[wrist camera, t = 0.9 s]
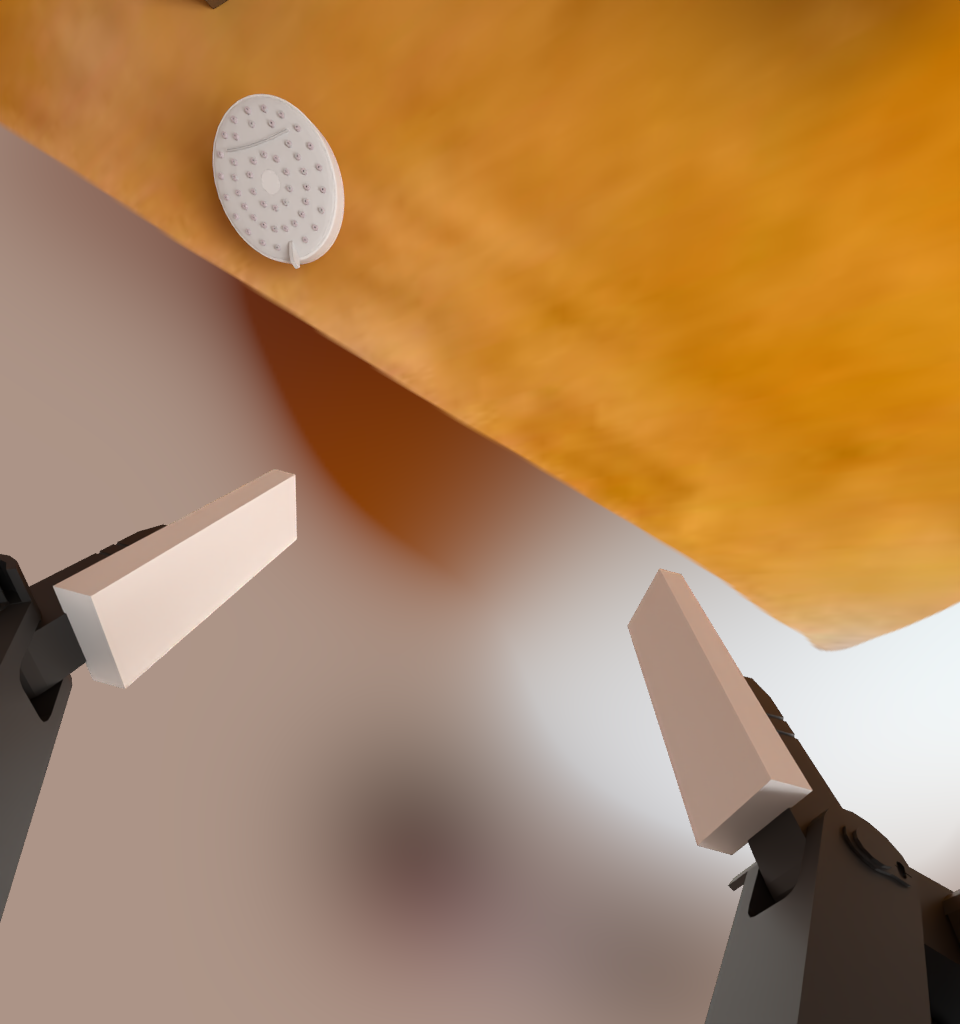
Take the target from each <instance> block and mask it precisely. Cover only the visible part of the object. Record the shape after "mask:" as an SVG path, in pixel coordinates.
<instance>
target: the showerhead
mask: <svg viewBox="0 0 960 1024" xmlns="http://www.w3.org/2000/svg"><path fill="white" fill-rule="evenodd" d="M213 172H214V180H215V185H216V189H217V192H218V196H219V199H220V202H221V204H222V206H223V209H224V211H225V213H226V215H227V217H228V219H229V220H230V222H231V224H232V225H233V227H234V228H235V230H236V231H237V232H238V234H239V235H240V236H241V237H242V238H243V239H244V241H245V242H246V243H247V244H249V245H250V246H251V247H252V248H253V249H254V250H256V251H257V252H259V253H260V254H262V255H264V256H266V257H268V258H270V259H272V260H276V261H279V262H284V263H289V264H292V265H293V266H294V267H295V269H297V268H300V264H306V263H310V262H313V261H315V260H317V259H318V258H320V257H321V256H323V255H324V254H325V253H326V252H327V251H328V250H329V249H330V247H331V246H332V245H333V243H334V241H335V240H336V238H337V236H338V233H339V231H340V228H341V224H342V220H343V213H344V189H343V182H342V178H341V173H340V170H339V166H338V164H337V161H336V158H335V156H334V154H333V152H332V150H331V148H330V146H329V144H328V142H327V141H326V139H325V138H324V136H323V135H322V134H321V132H320V131H319V130H318V129H317V128H316V127H315V125H314V124H313V123H312V122H311V121H310V120H309V119H308V118H307V117H306V116H305V115H304V114H303V113H302V112H301V111H300V110H299V109H298V108H296V107H295V106H294V105H292V104H291V103H289V102H287V101H286V100H284V99H281V98H279V97H276V96H273V95H268V94H255V95H250V96H247V97H244V98H242V99H240V100H239V101H237V102H236V103H235V104H234V105H232V106H231V107H230V108H229V110H228V111H227V112H226V113H225V115H224V116H223V118H222V120H221V122H220V124H219V126H218V129H217V133H216V136H215V140H214V147H213Z"/></svg>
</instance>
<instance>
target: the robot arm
mask: <svg viewBox="0 0 960 1024" xmlns="http://www.w3.org/2000/svg"><path fill="white" fill-rule="evenodd" d="M296 539H297V524H296V483H295V474H292V473H288V472H284V471H280V470H276V469H274V470H272V471H270V472H268V473H266V474H264V475H262V476H260V477H258V478H257V479H255V480H253V481H251V482H249V483H247V484H245V485H243V486H241V487H239V488H238V489H236V490H234V491H232V492H230V493H228V494H226V495H225V496H223V497H221V498H219V499H217V500H215V501H213V502H211V503H209V504H207V505H205V506H204V507H202V508H200V509H198V510H196V511H194V512H192V513H190V514H188V515H186V516H185V517H183V518H181V519H179V520H177V521H175V522H173V523H171V524H169V525H160V526H156V527H153V528H150V529H146V530H142V531H139V532H137V533H135V534H133V535H131V536H129V537H127V538H125V539H123V540H121V541H119V542H118V543H117V544H116V545H114V544H113V545H111V546H109V547H107V548H105V549H103V550H101V551H100V553H99V554H96V553H95V554H93V555H91V556H89V557H87V558H86V559H83V560H81V561H79V562H77V563H75V564H73V565H71V566H69V567H67V568H65V569H64V570H61V571H59V572H57V573H55V574H54V575H52V576H49V577H48V578H46V579H44V580H42V581H40V582H38V583H36V584H34V585H32V586H30V587H29V586H28V584H27V582H26V579H25V578H24V575H23V573H22V571H21V569H20V567H19V565H18V562H17V561H16V560H15V559H13V558H12V557H11V556H8V555H2V554H0V921H1V918H2V914H3V911H4V908H5V904H6V901H7V898H8V895H9V892H10V888H11V885H12V882H13V878H14V875H15V872H16V869H17V865H18V862H19V859H20V855H21V852H22V849H23V846H24V842H25V839H26V836H27V832H28V829H29V826H30V823H31V819H32V816H33V813H34V809H35V806H36V803H37V799H38V796H39V793H40V790H41V786H42V783H43V780H44V777H45V773H46V770H47V767H48V763H49V760H50V757H51V753H52V750H53V747H54V744H55V740H56V737H57V734H58V731H59V727H60V724H61V721H62V718H63V714H64V711H65V708H66V704H67V701H68V698H69V695H70V691H71V688H72V678H71V675H70V673H72V672H73V671H74V670H76V669H77V668H78V667H80V666H81V665H82V664H84V663H86V665H87V667H88V670H89V672H90V674H91V676H92V679H93V680H95V681H98V682H102V683H106V684H109V685H113V686H116V687H120V688H124V689H126V688H127V687H128V686H129V685H130V684H131V683H132V682H134V681H135V680H136V679H137V678H138V677H140V676H141V675H142V674H143V673H144V672H145V671H146V670H148V669H149V668H150V667H151V666H152V665H153V664H154V663H155V662H157V661H158V660H159V659H160V658H161V657H162V656H164V655H165V654H166V653H167V652H168V651H169V650H170V649H172V648H173V647H174V646H175V645H176V644H177V643H178V642H180V641H181V640H182V639H183V638H184V637H185V636H186V635H187V634H189V633H190V632H191V631H192V630H193V629H194V628H196V627H197V626H198V625H199V624H200V623H201V622H202V621H204V620H205V619H206V618H207V617H208V616H209V615H210V614H212V613H213V612H214V611H215V610H216V609H217V608H219V607H220V606H221V605H222V604H223V603H224V602H225V601H226V600H227V599H229V598H230V597H231V596H232V595H233V594H235V593H236V592H237V591H238V590H239V589H240V588H241V587H243V586H244V585H245V584H246V583H247V582H248V581H249V580H251V579H252V578H253V577H254V576H255V575H256V574H257V573H259V572H260V571H261V570H262V569H263V568H264V567H265V566H267V565H268V564H269V563H270V562H271V561H272V560H273V559H274V558H276V557H277V556H278V555H279V554H280V553H281V552H283V551H284V550H285V549H286V548H287V547H288V546H290V545H291V544H292V543H293V542H294V541H295V540H296ZM628 629H629V632H630V635H631V638H632V642H633V645H634V647H635V651H636V654H637V657H638V660H639V664H640V666H641V670H642V673H643V676H644V679H645V682H646V685H647V689H648V692H649V695H650V698H651V701H652V704H653V707H654V711H655V714H656V717H657V720H658V723H659V726H660V730H661V732H662V736H663V739H664V742H665V745H666V748H667V751H668V755H669V758H670V761H671V764H672V767H673V770H674V773H675V777H676V780H677V783H678V786H679V789H680V792H681V795H682V798H683V802H684V805H685V808H686V811H687V814H688V817H689V820H690V824H691V827H692V830H693V833H694V836H695V839H696V842H697V845H698V846H701V847H704V848H708V849H712V850H715V851H719V852H723V853H726V854H730V855H733V854H734V853H735V852H736V851H738V850H739V849H740V848H742V847H743V846H744V845H745V844H747V843H749V845H750V848H751V850H752V853H753V855H754V857H755V859H756V862H755V863H754V864H752V865H751V866H750V867H748V868H747V869H746V870H744V871H743V872H742V873H740V874H739V875H738V876H736V877H735V878H734V879H733V880H732V881H731V882H730V884H729V885H728V886H729V887H730V888H731V889H732V890H733V891H735V890H736V889H737V888H739V887H740V886H742V885H744V886H743V890H742V893H741V897H740V900H739V904H738V907H737V911H736V914H735V918H734V921H733V925H732V928H731V932H730V936H729V939H728V943H727V946H726V950H725V953H724V957H723V960H722V964H721V968H720V971H719V975H718V978H717V982H716V985H715V989H714V993H713V996H712V999H711V1003H710V1007H709V1010H708V1014H707V1017H706V1021H705V1024H960V890H958V891H955V892H953V891H951V890H949V889H947V888H946V887H944V886H942V885H940V884H938V883H937V882H935V881H933V880H931V879H930V878H928V877H926V876H924V875H922V874H921V873H919V872H917V871H915V870H914V869H912V868H910V867H909V866H908V864H907V863H906V861H905V860H904V858H903V857H902V855H901V854H900V853H899V852H898V851H897V850H896V848H895V847H894V846H893V845H892V844H891V843H890V842H889V840H888V839H887V838H886V837H885V836H883V835H882V834H881V833H880V832H879V831H878V830H877V829H875V828H874V827H873V826H872V825H871V824H870V823H868V822H867V821H865V820H864V819H862V818H861V817H859V816H858V815H856V814H854V813H853V812H850V811H848V810H845V809H843V808H842V807H841V806H840V804H839V802H838V801H837V799H836V798H835V797H834V795H833V793H832V792H831V790H830V789H829V787H828V785H827V784H826V782H825V781H824V779H823V778H822V776H821V775H820V773H819V772H818V770H817V769H816V767H815V765H814V764H813V762H812V761H811V759H810V758H809V756H808V755H807V753H806V752H805V750H804V749H803V747H802V746H801V744H800V742H799V741H798V739H795V738H794V733H793V731H792V730H791V729H790V727H789V726H788V724H787V722H785V721H783V716H782V714H781V713H780V711H779V710H778V709H777V707H776V705H775V704H774V702H773V701H772V699H771V697H769V695H768V694H767V693H766V692H765V691H764V690H763V689H762V688H761V687H760V686H759V685H758V684H757V683H756V682H755V681H754V680H753V679H752V678H748V677H744V676H743V675H742V673H741V672H740V670H739V668H738V667H737V665H736V664H735V662H734V660H733V659H732V657H731V655H730V654H729V652H728V650H727V649H726V647H725V646H724V644H723V642H722V640H721V639H720V637H719V636H718V634H717V632H716V631H715V629H714V627H713V626H712V624H711V622H710V621H709V619H708V618H707V616H706V614H705V613H704V611H703V609H702V608H701V606H700V604H699V603H698V601H697V599H696V598H695V596H694V594H693V593H692V591H691V589H690V588H689V586H688V585H687V583H686V582H685V580H684V578H683V576H682V575H681V574H678V573H675V572H670V571H667V570H663V569H659V570H658V572H657V574H656V576H655V578H654V579H653V581H652V583H651V585H650V587H649V588H648V590H647V592H646V594H645V596H644V597H643V599H642V601H641V603H640V604H639V607H638V608H637V610H636V612H635V614H634V615H633V617H632V619H631V621H630V623H629V624H628Z"/></svg>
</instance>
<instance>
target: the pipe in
mask: <svg viewBox="0 0 960 1024" xmlns="http://www.w3.org/2000/svg"><path fill="white" fill-rule="evenodd" d="M205 1H206V2H207V3H208V4H209V5H210V6H211V7H212V8H213V9H214V8H216V7H217V6H219V5H221V4H222V3H224V2H226V1H227V0H205Z"/></svg>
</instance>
